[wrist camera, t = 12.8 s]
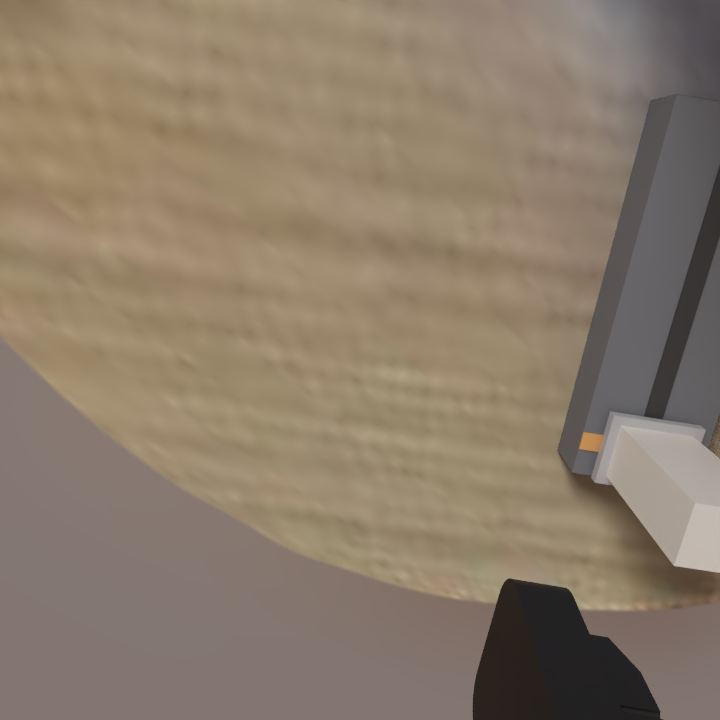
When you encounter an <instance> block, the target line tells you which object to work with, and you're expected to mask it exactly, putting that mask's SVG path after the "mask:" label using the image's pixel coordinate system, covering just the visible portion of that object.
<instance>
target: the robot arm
mask: <svg viewBox="0 0 720 720" xmlns="http://www.w3.org/2000/svg"><path fill="white" fill-rule="evenodd" d="M473 720H662V719H660V710H659V708H658V706H657V704H656V702H655V700H654V698H653V696H652V694H651V693H650V690H649V688H648V686H647V684H646V682H645V680H644V678H643V676H642V674H641V672H640V671H639V670H638V669H637V668H636V667H635V666H634V665H633V664H632V663H631V662H630V661H629V659H628V658H627V657H626V656H625V655H624V654H623V653H622V652H621V651H620V650H619V649H618V648H617V646H616V645H615V644H614V643H613V642H612V641H611V640H610V639H609V638H608V637H602V636H595V635H590V634H589V632H588V630H587V627H586V625H585V623H584V620H583V618H582V616H581V613H580V611H579V609H578V606H577V604H576V602H575V599H574V597H573V595H572V593H571V592H570V591H569V590H568V589H567V588H563V587H557V586H551V585H545V584H539V583H533V582H527V581H521V580H515V579H507V580H506V581H505V582H504V584H503V586H502V588H501V591H500V594H499V597H498V601H497V604H496V608H495V611H494V615H493V618H492V622H491V625H490V629H489V632H488V636H487V639H486V643H485V646H484V650H483V653H482V657H481V660H480V664H479V667H478V671H477V675H476V680H475V686H474V694H473Z"/></svg>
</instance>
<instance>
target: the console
mask: <svg viewBox="0 0 720 720" xmlns="http://www.w3.org/2000/svg"><path fill="white" fill-rule="evenodd" d="M610 411H611V412H617V413H624V414H630V415H637V416H643V417H649V418H656V419H662V420H668V421H675V422H681V423H687V424H694V425H700V426H702V427H703V428H704V429H705V430H706V431H705V434H704V437H703V440H702V444H703V445H704V446H705V447H706V448H708V447H709V444H710V441H711V438H712V435H713V432H714V430H715V427H716V424H717V421H718V418H719V415H720V102H718V101H712V100H706V99H700V98H695V97H689V96H683V95H677V94H676V95H672V96H668V97H664V98H660V99H656V100H651V102H650V106H649V110H648V113H647V117H646V121H645V125H644V128H643V132H642V136H641V140H640V143H639V147H638V151H637V155H636V158H635V162H634V166H633V170H632V173H631V177H630V181H629V185H628V188H627V192H626V196H625V200H624V203H623V207H622V211H621V215H620V218H619V222H618V226H617V230H616V233H615V237H614V241H613V245H612V248H611V252H610V256H609V260H608V263H607V267H606V271H605V275H604V278H603V282H602V286H601V290H600V293H599V297H598V301H597V305H596V308H595V312H594V316H593V320H592V323H591V327H590V331H589V334H588V338H587V342H586V346H585V349H584V353H583V357H582V361H581V364H580V368H579V372H578V376H577V379H576V383H575V387H574V391H573V394H572V398H571V402H570V406H569V409H568V413H567V417H566V421H565V424H564V428H563V432H562V436H561V439H560V443H559V447H558V452H559V453H560V455H561V457H562V458H563V460H564V461H565V463H566V464H567V466H568V467H569V469H570V470H571V472H572V473H577V474H584V475H590V476H592V473H593V470H594V466H595V463H596V459H597V456H598V452H599V449H600V445H601V442H602V438H603V435H604V431H605V428H606V424H607V421H608V417H609V414H610Z"/></svg>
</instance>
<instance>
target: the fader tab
mask: <svg viewBox="0 0 720 720" xmlns="http://www.w3.org/2000/svg"><path fill="white" fill-rule="evenodd" d="M705 431H706V430H705V429H704V428H703V427H702V426H700V425H694V424H687V423H681V422H675V421H668V420H662V419H656V418H649V417H643V416H637V415H630V414H624V413H617V412H611V411H610V414H609V417H608V421H607V424H606V428H605V431H604V435H603V438H602V442H601V445H600V449H599V452H598V456H597V459H596V463H595V466H594V470H593V473H592V477H591V478H592V480H593V481H594V482H595V483H600V484H606V485H613V486H614V487H615V489H616V490H617V491H618V493H619V494H620V495H621V496H622V498H623V499H624V500H625V502H626V503H627V504H628V506H629V507H630V508H631V510H632V511H633V512H634V514H635V515H636V516H637V518H638V519H639V520H640V522H641V523H642V524H643V526H644V527H645V528H646V530H647V531H648V532H649V534H650V535H651V536H652V538H653V539H654V540H655V542H656V543H657V544H658V546H659V547H660V548H661V550H662V551H663V552H664V554H665V555H666V556H667V558H668V559H669V560H670V561H671V563H672V564H673V565H674V566H678V567H685V568H691V569H698V570H705V571H711V572H718V573H720V459H719V458H718V457H717V456H716V455H715V454H714V453H712V452H711V451H710V450H709V449H708V448H706V447H705V446H704V445H703V444H702V440H703V437H704V434H705Z"/></svg>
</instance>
